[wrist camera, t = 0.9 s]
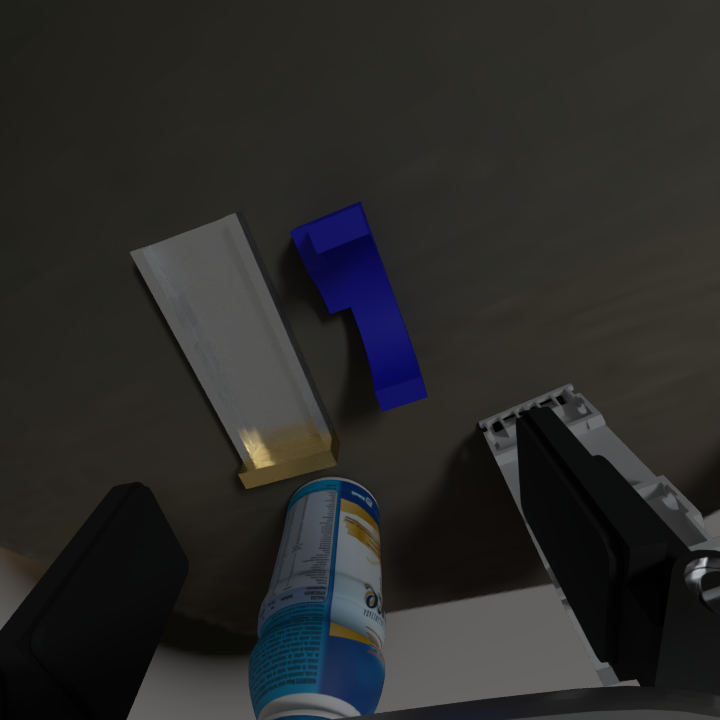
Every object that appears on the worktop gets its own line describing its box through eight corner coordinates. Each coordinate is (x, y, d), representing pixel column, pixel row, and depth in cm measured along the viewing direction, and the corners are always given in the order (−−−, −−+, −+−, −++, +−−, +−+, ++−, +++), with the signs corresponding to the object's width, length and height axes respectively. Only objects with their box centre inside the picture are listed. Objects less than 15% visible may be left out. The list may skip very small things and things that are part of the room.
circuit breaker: (536, 539, 38) (632, 744, 24) (478, 422, 33) (557, 593, 19) (618, 511, 36) (771, 711, 22) (570, 383, 31) (727, 539, 18)
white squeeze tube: (242, 211, 27) (227, 214, 24) (339, 442, 34) (336, 465, 31) (141, 249, 28) (116, 256, 25) (255, 465, 35) (246, 489, 32)
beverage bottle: (295, 463, 35) (213, 775, 16) (391, 482, 35) (416, 804, 17) (281, 535, 38) (199, 862, 20) (369, 551, 39) (369, 883, 20)
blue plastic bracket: (297, 227, 27) (280, 237, 22) (360, 201, 27) (358, 205, 21) (361, 378, 32) (360, 418, 26) (417, 359, 31) (427, 396, 26)
